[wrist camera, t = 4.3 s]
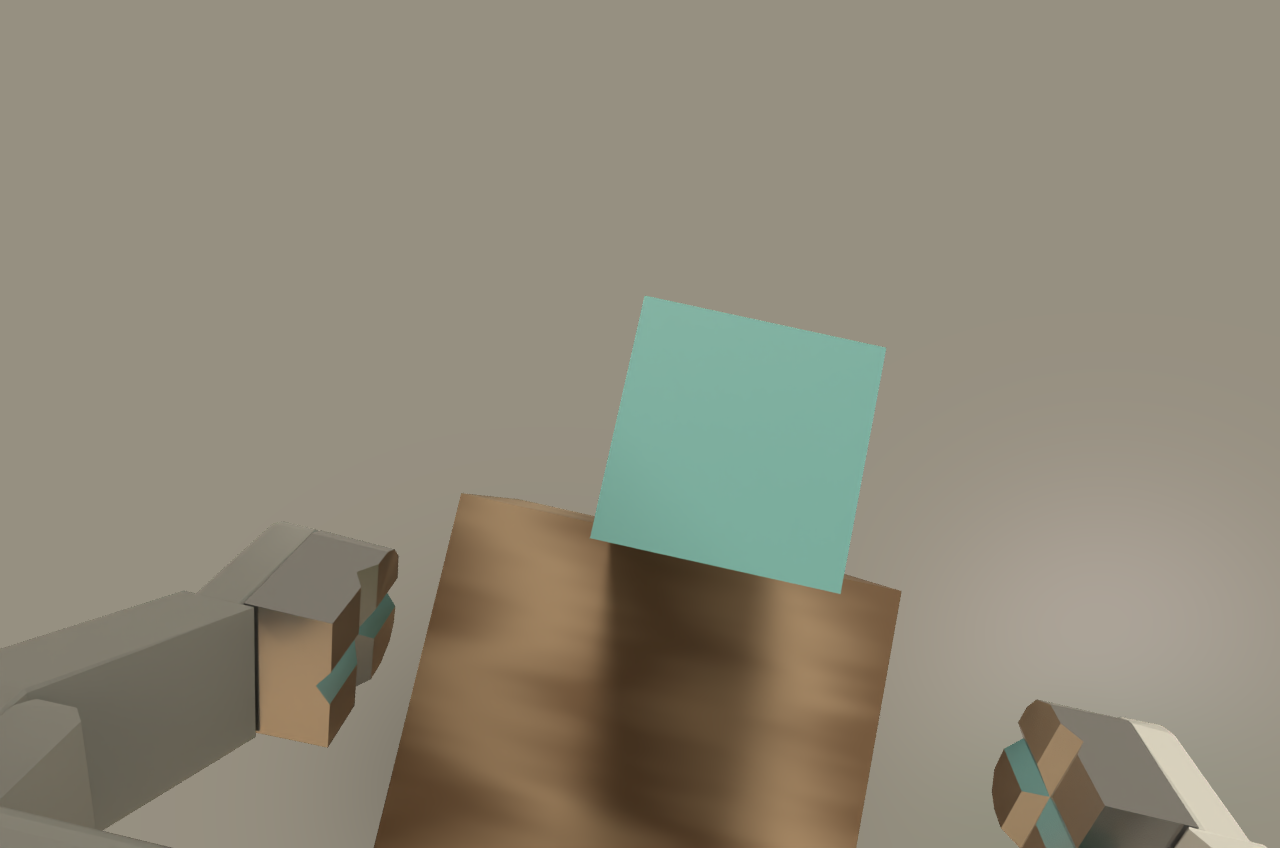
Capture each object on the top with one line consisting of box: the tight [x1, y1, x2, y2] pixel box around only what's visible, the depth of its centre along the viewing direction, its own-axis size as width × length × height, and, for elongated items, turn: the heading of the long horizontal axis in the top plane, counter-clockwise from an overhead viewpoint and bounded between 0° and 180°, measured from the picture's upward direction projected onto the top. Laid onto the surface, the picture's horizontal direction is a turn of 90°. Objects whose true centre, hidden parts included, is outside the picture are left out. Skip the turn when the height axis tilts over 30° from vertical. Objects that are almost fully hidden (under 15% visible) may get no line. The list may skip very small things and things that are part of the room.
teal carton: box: [590, 296, 886, 594], centre depth 22 cm, size 4×22×4 cm, turn 0°
